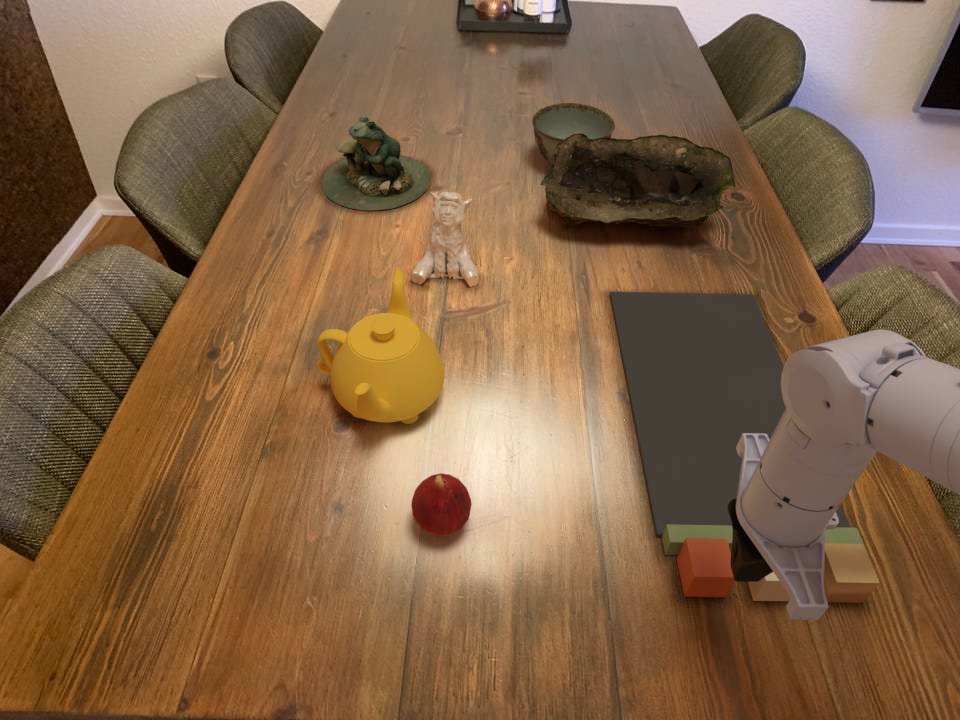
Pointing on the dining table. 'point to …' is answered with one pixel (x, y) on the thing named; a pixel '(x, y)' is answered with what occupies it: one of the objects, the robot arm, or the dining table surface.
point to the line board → (699, 404)
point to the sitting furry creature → (447, 243)
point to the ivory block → (768, 589)
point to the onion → (441, 504)
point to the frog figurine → (374, 171)
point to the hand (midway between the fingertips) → (744, 573)
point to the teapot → (384, 364)
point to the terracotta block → (705, 567)
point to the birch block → (848, 573)
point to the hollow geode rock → (637, 180)
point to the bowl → (568, 126)
